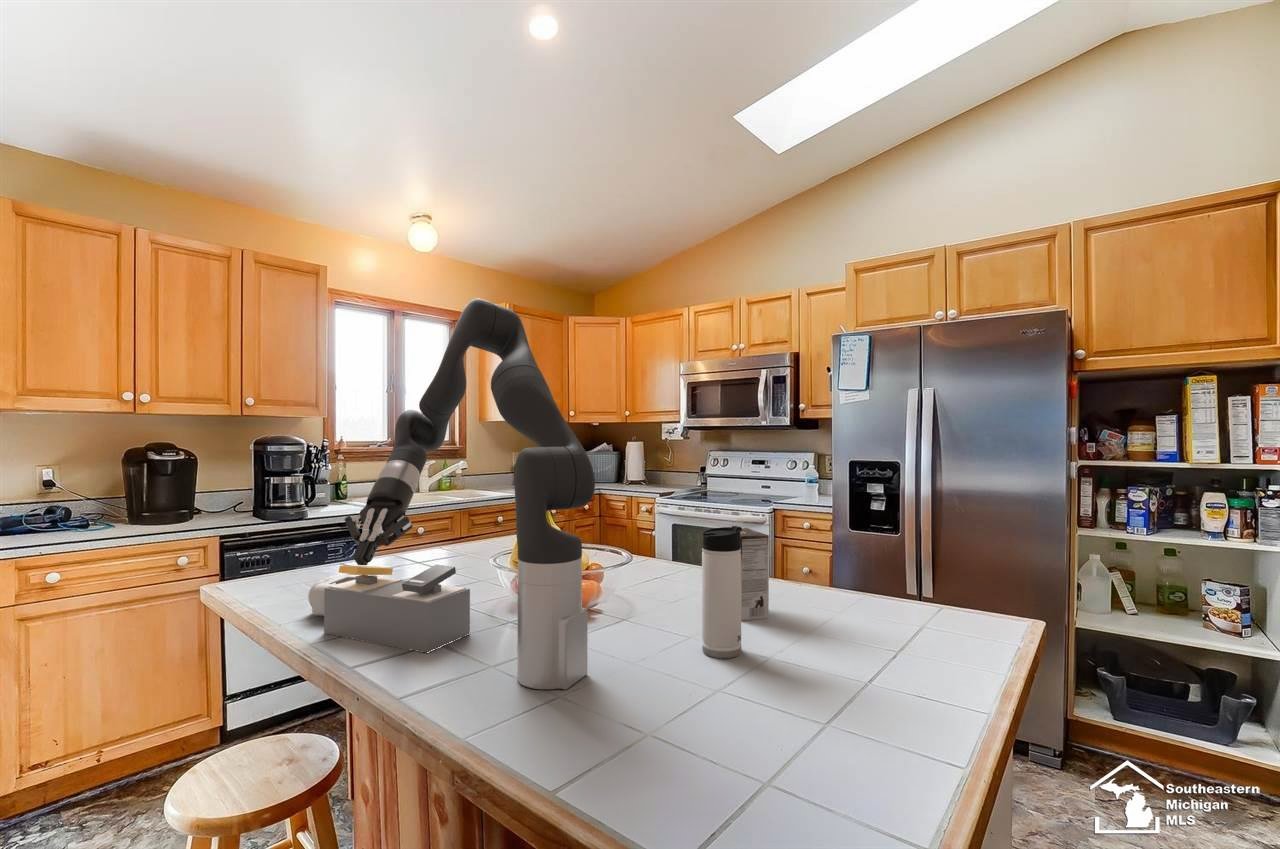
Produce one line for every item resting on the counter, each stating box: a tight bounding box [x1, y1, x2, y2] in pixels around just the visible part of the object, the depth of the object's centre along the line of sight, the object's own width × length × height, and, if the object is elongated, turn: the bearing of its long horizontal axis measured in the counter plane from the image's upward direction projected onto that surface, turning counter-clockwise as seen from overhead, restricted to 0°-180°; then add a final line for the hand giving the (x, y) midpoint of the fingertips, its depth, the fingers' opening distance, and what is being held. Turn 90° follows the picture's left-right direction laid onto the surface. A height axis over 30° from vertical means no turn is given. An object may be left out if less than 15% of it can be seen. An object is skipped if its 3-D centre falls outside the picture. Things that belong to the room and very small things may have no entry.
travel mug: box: [701, 525, 742, 659], centre depth 96 cm, size 6×7×20 cm
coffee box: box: [740, 527, 770, 622], centre depth 116 cm, size 9×6×16 cm
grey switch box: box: [323, 575, 471, 652], centre depth 104 cm, size 24×10×9 cm, turn 66°
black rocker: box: [402, 564, 457, 593], centre depth 101 cm, size 4×8×1 cm, turn 156°
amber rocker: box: [338, 564, 394, 576], centre depth 107 cm, size 4×8×1 cm, turn 156°
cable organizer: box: [307, 574, 357, 617], centre depth 118 cm, size 7×12×12 cm
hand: (360, 562), depth 105 cm, fingers closed
